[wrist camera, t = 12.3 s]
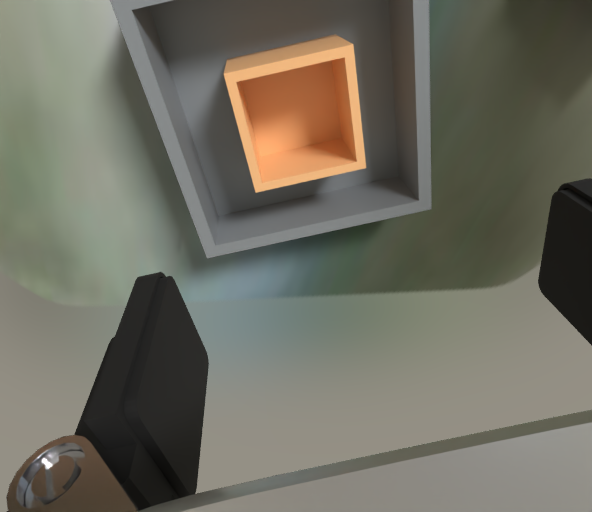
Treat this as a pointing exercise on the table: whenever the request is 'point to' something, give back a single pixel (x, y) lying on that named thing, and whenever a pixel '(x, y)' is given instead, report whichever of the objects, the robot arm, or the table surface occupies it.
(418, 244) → the table surface
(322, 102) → the orange crate
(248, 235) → the grey square tray
